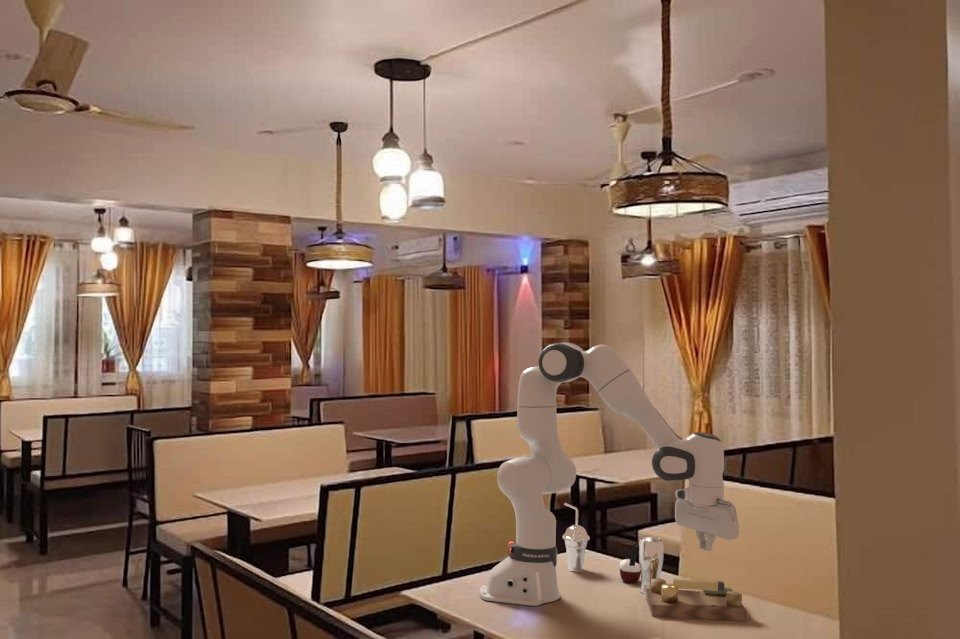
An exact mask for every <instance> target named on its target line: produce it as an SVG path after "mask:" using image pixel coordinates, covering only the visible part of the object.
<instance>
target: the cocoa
mask: <svg viewBox="0 0 960 639" xmlns="http://www.w3.org/2000/svg"><path fill="white" fill-rule="evenodd" d="M638 549H639V544H632V545H631V549H630V550H631V551H630V556H629V557H630V558H627V559H626V558H625V559H624V558H623V559H622V560H621V561H620V562H619V573H620V579H621V581H623V582H624V583H626V582H627V584H636V583H638V582H639V581H640V578H641V570H640V564H639V563H637V562H636V561H637V554H638Z"/></svg>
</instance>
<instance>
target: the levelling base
mask: <svg viewBox="0 0 960 639" xmlns="http://www.w3.org/2000/svg"><path fill="white" fill-rule="evenodd" d="M666 583H667V581H666V580H665V579H664V578H663V579H662V578H660V579H657V578H656V579H651V588H646V594H645V600H646V602H647V606H648V609H649V612H650V614H651V617H663V618H681V619H682V618H683V619H698V620H700V619H701V620H702V619H703V620H719V621H720V620H721V621H736V622H737V621H738V622H739V621H741V622H746V621H747V609H746V607H745V606H744V604H743V598H742V597H743V593H741V592H738V591H735V590H734V591H733V589H732V588H731V587H727V586H726V587H725V586H724V591H712V590H692V589H678V601H677V602H666V601H663V600H661V585H662V584H666Z"/></svg>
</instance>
